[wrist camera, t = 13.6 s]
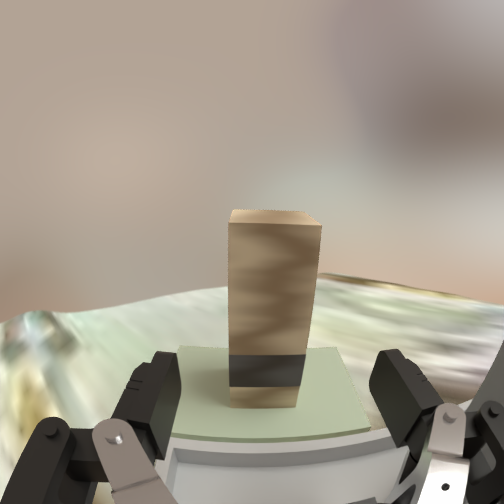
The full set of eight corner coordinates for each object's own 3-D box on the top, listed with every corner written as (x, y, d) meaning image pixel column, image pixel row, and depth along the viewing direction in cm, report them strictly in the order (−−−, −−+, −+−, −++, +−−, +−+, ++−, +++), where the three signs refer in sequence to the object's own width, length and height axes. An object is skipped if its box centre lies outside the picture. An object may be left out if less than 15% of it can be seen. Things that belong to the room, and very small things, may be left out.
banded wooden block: (229, 408, 18) (227, 222, 14) (232, 367, 23) (232, 209, 19) (296, 407, 19) (322, 225, 15) (288, 367, 23) (303, 211, 19)
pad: (154, 436, 16) (151, 429, 15) (180, 353, 26) (179, 345, 26) (367, 433, 16) (371, 426, 16) (334, 354, 27) (336, 346, 26)
